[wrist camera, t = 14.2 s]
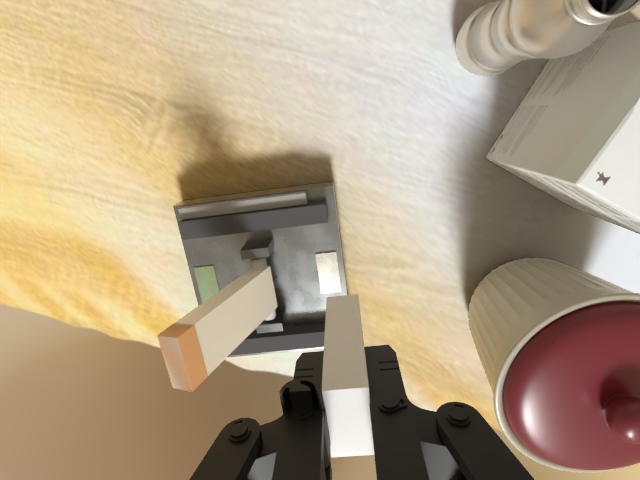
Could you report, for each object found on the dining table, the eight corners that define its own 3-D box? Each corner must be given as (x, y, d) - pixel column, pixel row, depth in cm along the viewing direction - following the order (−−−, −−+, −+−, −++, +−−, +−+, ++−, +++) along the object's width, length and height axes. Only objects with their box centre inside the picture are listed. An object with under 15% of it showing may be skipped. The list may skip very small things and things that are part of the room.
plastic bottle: (443, 22, 39) (544, -63, 20) (511, -2, 38) (682, -116, 19) (457, 87, 41) (561, 64, 22) (522, 65, 40) (688, 21, 21)
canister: (414, 310, 49) (467, 443, 29) (522, 202, 45) (674, 273, 25) (513, 387, 52) (623, 556, 32) (625, 293, 48) (835, 423, 28)
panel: (183, 200, 46) (159, 213, 40) (333, 181, 45) (332, 191, 39) (218, 345, 52) (203, 376, 46) (352, 332, 51) (354, 362, 45)
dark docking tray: (182, 206, 43) (175, 210, 41) (324, 188, 42) (323, 192, 40) (217, 347, 49) (212, 357, 47) (343, 335, 48) (344, 344, 46)
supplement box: (577, 212, 45) (720, 270, 28) (481, 158, 43) (572, 185, 27) (660, 105, 41) (881, 98, 24) (558, 41, 40) (719, -12, 23)
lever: (254, 255, 43) (153, 323, 31) (270, 255, 42) (173, 325, 30) (265, 312, 45) (175, 398, 33) (280, 314, 45) (195, 402, 32)
